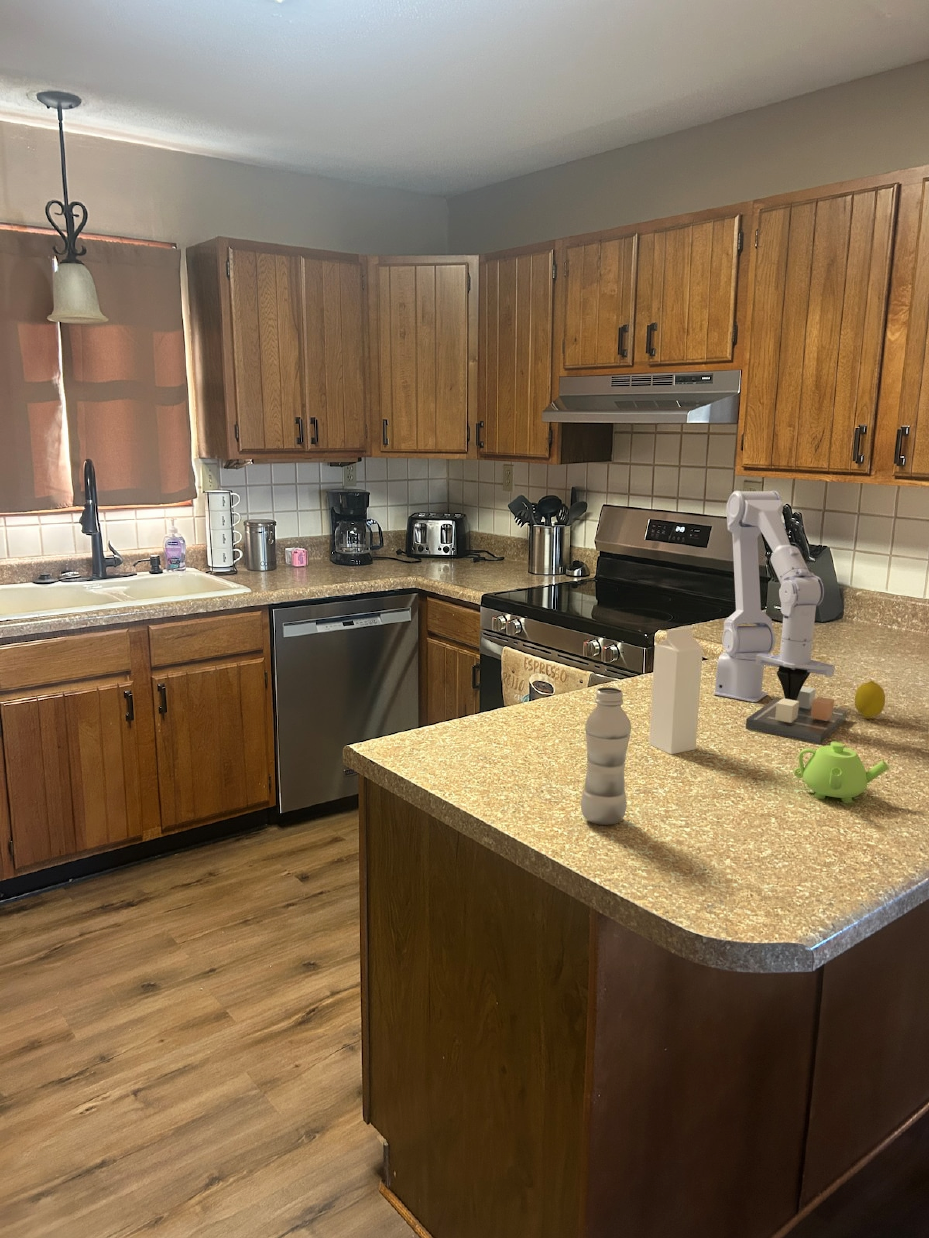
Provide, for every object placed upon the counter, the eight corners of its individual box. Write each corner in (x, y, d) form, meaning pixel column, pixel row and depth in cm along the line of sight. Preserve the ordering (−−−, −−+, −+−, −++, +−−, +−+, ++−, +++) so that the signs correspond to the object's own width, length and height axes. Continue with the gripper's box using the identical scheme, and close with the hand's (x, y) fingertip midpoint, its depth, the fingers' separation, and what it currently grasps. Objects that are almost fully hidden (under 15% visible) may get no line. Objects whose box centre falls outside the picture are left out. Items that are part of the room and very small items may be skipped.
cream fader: (775, 719, 173) (776, 703, 172) (781, 714, 176) (783, 698, 175) (791, 722, 171) (792, 706, 171) (797, 717, 174) (799, 701, 174)
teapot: (780, 786, 147) (784, 736, 146) (833, 776, 152) (838, 728, 150) (832, 813, 137) (838, 760, 136) (888, 802, 142) (894, 750, 140)
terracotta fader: (810, 717, 174) (812, 701, 174) (816, 712, 178) (818, 696, 177) (826, 720, 173) (828, 704, 172) (832, 715, 176) (834, 699, 175)
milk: (695, 749, 164) (705, 630, 159) (670, 755, 161) (679, 634, 156) (672, 739, 169) (681, 623, 164) (647, 744, 166) (655, 627, 161)
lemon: (885, 724, 179) (890, 685, 177) (855, 722, 180) (860, 683, 178) (879, 715, 184) (883, 678, 183) (850, 713, 185) (854, 676, 184)
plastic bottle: (575, 812, 136) (581, 684, 132) (619, 811, 137) (626, 683, 133) (584, 830, 130) (591, 697, 126) (631, 829, 131) (638, 696, 126)
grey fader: (792, 705, 182) (794, 690, 181) (798, 701, 185) (800, 685, 184) (808, 708, 180) (809, 692, 179) (814, 704, 183) (815, 688, 182)
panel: (745, 728, 175) (746, 718, 175) (775, 706, 189) (776, 697, 189) (820, 744, 167) (821, 733, 167) (845, 720, 181) (846, 710, 181)
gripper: (752, 636, 177) (747, 702, 179) (830, 647, 168) (822, 717, 171) (764, 630, 182) (759, 694, 185) (840, 640, 174) (833, 708, 177)
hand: (790, 705), depth 178 cm, fingers closed
